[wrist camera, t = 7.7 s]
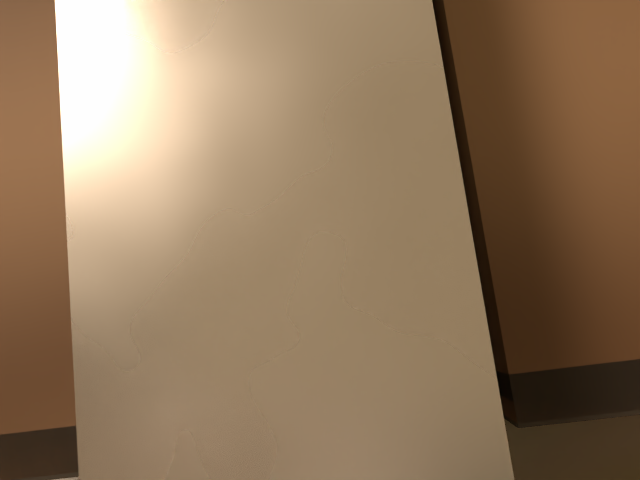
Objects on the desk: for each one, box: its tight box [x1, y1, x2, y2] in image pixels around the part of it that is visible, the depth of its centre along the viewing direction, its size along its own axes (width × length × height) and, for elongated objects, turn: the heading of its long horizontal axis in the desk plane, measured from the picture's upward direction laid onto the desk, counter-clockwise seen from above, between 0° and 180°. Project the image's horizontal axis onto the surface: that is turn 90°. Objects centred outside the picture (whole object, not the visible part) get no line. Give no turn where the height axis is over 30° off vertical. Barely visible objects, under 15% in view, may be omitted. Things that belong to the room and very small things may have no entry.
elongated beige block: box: [55, 0, 514, 480], centre depth 11 cm, size 12×4×10 cm, turn 7°
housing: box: [0, 0, 640, 480], centre depth 13 cm, size 14×18×9 cm
